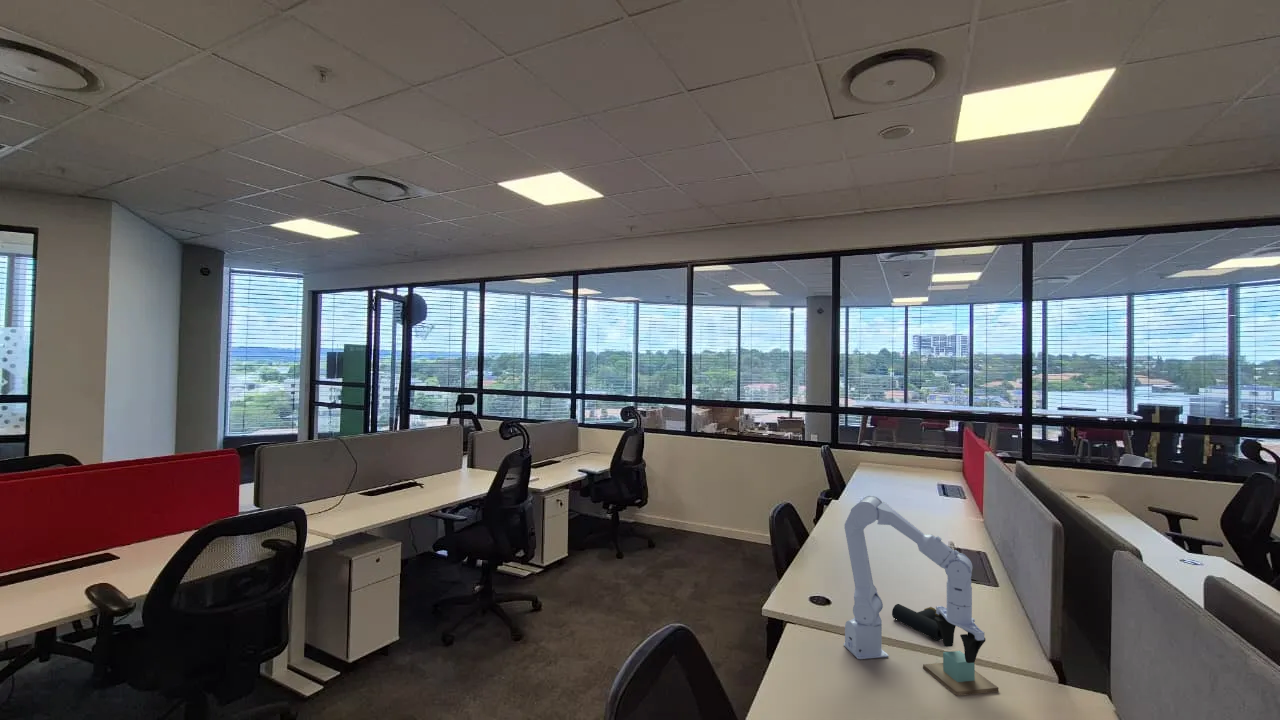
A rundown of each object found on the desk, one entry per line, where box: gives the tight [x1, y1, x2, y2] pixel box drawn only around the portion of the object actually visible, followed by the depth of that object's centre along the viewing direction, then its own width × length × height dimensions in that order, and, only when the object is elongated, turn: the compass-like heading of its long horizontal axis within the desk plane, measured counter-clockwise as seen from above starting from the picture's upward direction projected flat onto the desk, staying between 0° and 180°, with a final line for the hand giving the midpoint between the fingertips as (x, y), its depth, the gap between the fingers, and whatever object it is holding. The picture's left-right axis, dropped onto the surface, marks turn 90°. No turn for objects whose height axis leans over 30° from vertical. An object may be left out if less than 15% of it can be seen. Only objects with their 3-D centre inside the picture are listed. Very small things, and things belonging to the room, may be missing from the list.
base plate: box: [922, 662, 999, 697], centre depth 136 cm, size 12×12×4 cm
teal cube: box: [942, 650, 976, 682], centre depth 136 cm, size 5×5×5 cm
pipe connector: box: [891, 603, 942, 642], centre depth 164 cm, size 12×5×15 cm
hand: (959, 653), depth 136 cm, fingers open, 7 cm apart
